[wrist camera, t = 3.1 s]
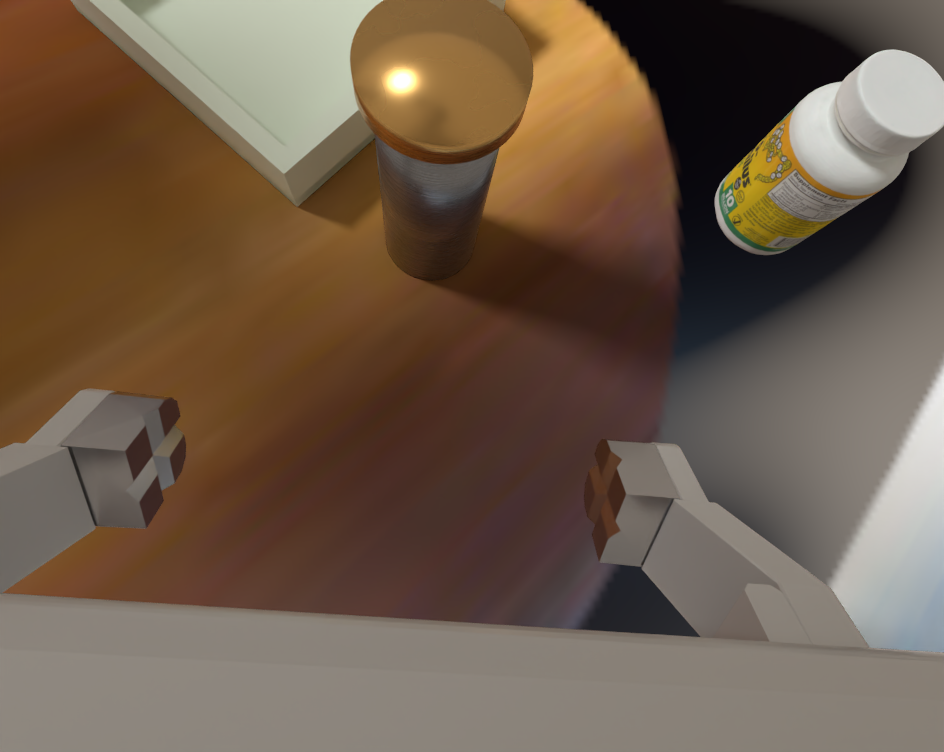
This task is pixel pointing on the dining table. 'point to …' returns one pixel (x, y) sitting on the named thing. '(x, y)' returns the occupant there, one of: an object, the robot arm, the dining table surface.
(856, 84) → the supplement bottle
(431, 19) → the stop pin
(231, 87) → the tray
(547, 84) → the dining table surface
